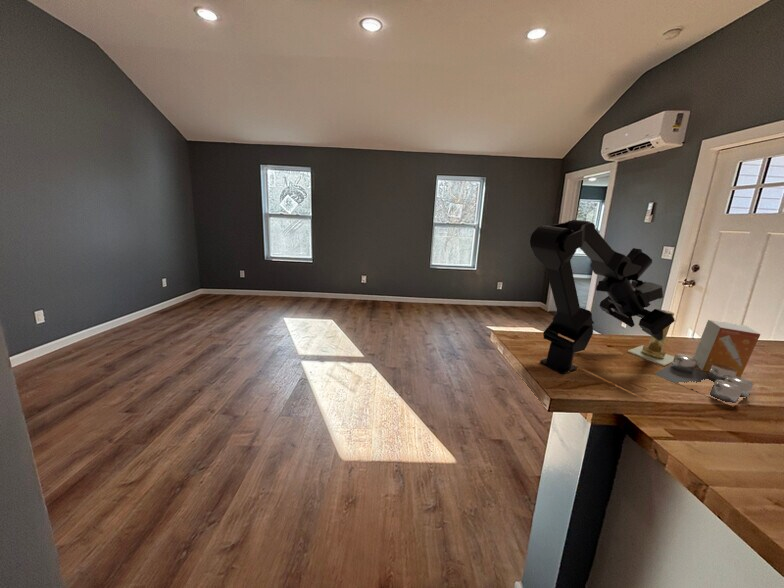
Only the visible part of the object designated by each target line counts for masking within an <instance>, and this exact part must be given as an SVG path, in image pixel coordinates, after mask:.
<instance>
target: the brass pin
mask: <svg viewBox="0 0 784 588" xmlns="http://www.w3.org/2000/svg"><path fill="white" fill-rule="evenodd" d="M663 311H666V312H668V313H671V314H672V315H673V317H674V316H675V313H674V312H673V311H669V310H664V309H663ZM671 325H672V324H670V325H669V326H667V327H666V328H664V329H663V339H662V340H660V341H658V340H657V339H655V338H654V337H652V336H650V341H649V342H648V343H649V344H648V345H643V349H642V353H643V354H645V355H647V356H649V357H652V358H657V359H664V357H665V354H667V353H666V351H665V350H663V347H664V344H665V341H666V339H667V335H668V333H669V331H670V326H671Z"/></svg>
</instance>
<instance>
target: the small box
mask: <svg viewBox="0 0 784 588" xmlns="http://www.w3.org/2000/svg"><path fill="white" fill-rule="evenodd" d="M760 336H761V333H760V332H757V331H756V330H754V329H752V328H751V327H749V326H747V325H742V324H737V323H732V322H725V321H718V320H712V319H711V320H710V319H707V322H706V324H705V327H704V330H703V331H702V335H701V337H700V339H699V342H698V344H697V347H696V349H695V352H694V355H693V356H692V357H693V358H695V359H696V360H697V363H696V366H697V368H699V370H700V371H703V372H706V373H709V372H710V369H711V367H712V365H713V364H719V365H723V366H727V367H729V368H732V369H734V370H735V371H736V372H737V373H736V376H738V377H742V375H743V373H744V371H745V370H746V367H747V365H748V362H749V361H750V358H751V356H752V354H753V352H754V349H755V347H756V346H757V344H758V340H759V338H760Z"/></svg>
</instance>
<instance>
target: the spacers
mask: <svg viewBox="0 0 784 588" xmlns="http://www.w3.org/2000/svg"><path fill="white" fill-rule="evenodd" d="M673 357H674V360H673V362H672V363H671V364H670V365H671V367H672V368H673V369H675V370H677V371H679V372H682V373H686V374H692V373H693V371H694V368H695V367H696V366H697V365H696V363H697V360H696V359H695V358H693V357H694V356H690V355H688V354H683V353H675V355H674V356H673ZM695 369H696V368H695ZM736 373H737V372H736V371H735V370H734V369H732V368H729V367H727V366H723V365H719V364H713V365H712V367H711V369H710V372H708V376H707V378H708V379H709V380H711V381H713V382H714V385H713V387H712V390H711V392H710V395H711V396H713V397H715V398H717V399H720V400H722V401H725V402H732V403H736V402H737V401H738V399H739V397H747V398H748V397H749V396H750V395H749V393H750V391H751V390H753V386H754V383H753V382H752V381H751V380H749V379H746V378H743V377H742V376H741V377H738V376H736Z"/></svg>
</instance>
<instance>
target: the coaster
mask: <svg viewBox="0 0 784 588" xmlns="http://www.w3.org/2000/svg"><path fill="white" fill-rule="evenodd" d="M643 346H644V345H643V344H641V345H639V346H636V347H634V348H631V349H629V350H627V353H629V354H632V355H634V356H637V357H639V358H641V359H644V360H647V361H650V362H652V363H655V364H656V365H660V366H662V367H667V366H670V365H672V362H673V360H674V357H675V356H674V355H670V354H667V353H666V354H665V357H664V359H657V358H652V357H649V356H647V355H645V354H643V353H642V349H643Z"/></svg>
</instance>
